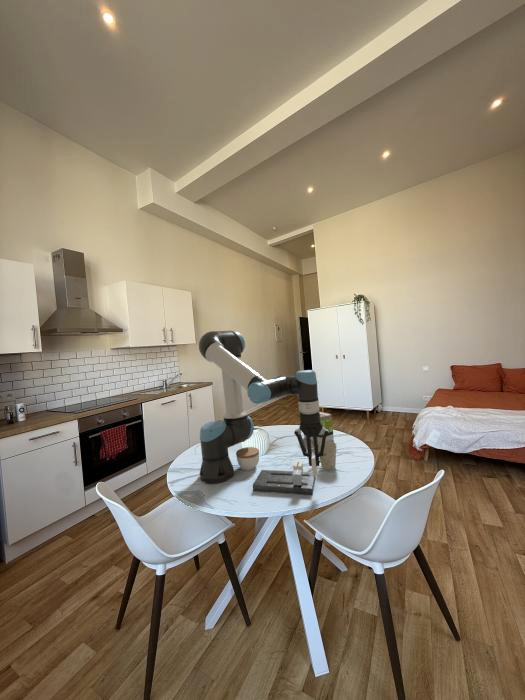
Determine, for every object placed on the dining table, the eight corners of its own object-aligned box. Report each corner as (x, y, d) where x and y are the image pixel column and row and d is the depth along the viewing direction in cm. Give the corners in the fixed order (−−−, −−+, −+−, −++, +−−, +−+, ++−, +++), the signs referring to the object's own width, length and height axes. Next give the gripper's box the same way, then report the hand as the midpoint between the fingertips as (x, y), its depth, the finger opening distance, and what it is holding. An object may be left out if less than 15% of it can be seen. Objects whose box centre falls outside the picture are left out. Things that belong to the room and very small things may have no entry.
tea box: (334, 440, 156) (332, 413, 156) (321, 444, 151) (319, 417, 151) (315, 433, 169) (313, 409, 169) (303, 438, 164) (301, 413, 163)
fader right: (293, 484, 106) (292, 474, 105) (295, 479, 109) (294, 469, 109) (301, 485, 105) (300, 474, 105) (302, 480, 109) (301, 469, 108)
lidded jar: (240, 475, 124) (238, 454, 124) (235, 465, 134) (233, 446, 134) (263, 469, 127) (261, 449, 127) (256, 461, 137) (255, 442, 137)
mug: (338, 471, 120) (336, 447, 119) (309, 470, 122) (307, 448, 122) (337, 462, 128) (335, 440, 128) (309, 462, 130) (307, 441, 130)
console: (253, 491, 109) (252, 484, 109) (262, 475, 122) (261, 469, 121) (312, 495, 103) (311, 488, 103) (315, 478, 115) (315, 471, 115)
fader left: (294, 475, 112) (293, 465, 112) (295, 471, 116) (295, 461, 116) (301, 476, 112) (300, 466, 112) (303, 471, 115) (302, 461, 115)
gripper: (290, 414, 103) (296, 478, 103) (326, 413, 99) (332, 479, 100) (293, 409, 110) (299, 469, 110) (327, 408, 106) (333, 470, 107)
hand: (315, 474), depth 105 cm, fingers closed
